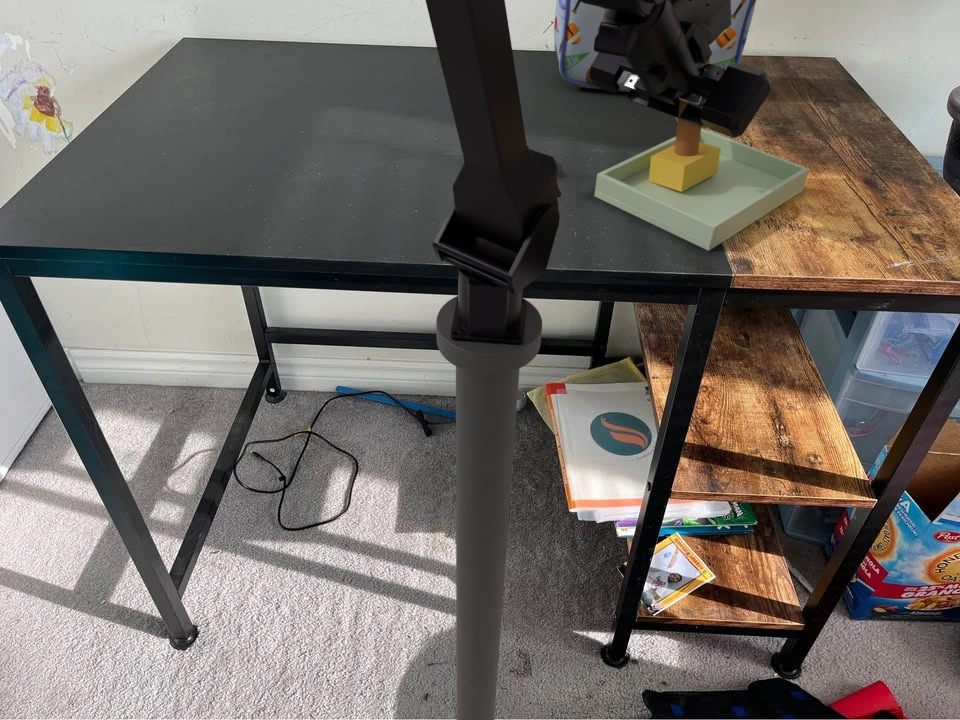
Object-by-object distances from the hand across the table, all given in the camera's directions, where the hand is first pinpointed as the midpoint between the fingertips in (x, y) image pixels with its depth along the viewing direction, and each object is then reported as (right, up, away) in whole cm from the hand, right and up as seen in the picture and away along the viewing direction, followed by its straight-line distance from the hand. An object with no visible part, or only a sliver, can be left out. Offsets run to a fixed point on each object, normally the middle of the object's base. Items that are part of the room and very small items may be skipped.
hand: (696, 119), depth 83 cm
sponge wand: (-1, -6, +3) cm, 7 cm away
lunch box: (0, +14, +27) cm, 30 cm away
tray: (+1, -8, +2) cm, 8 cm away
